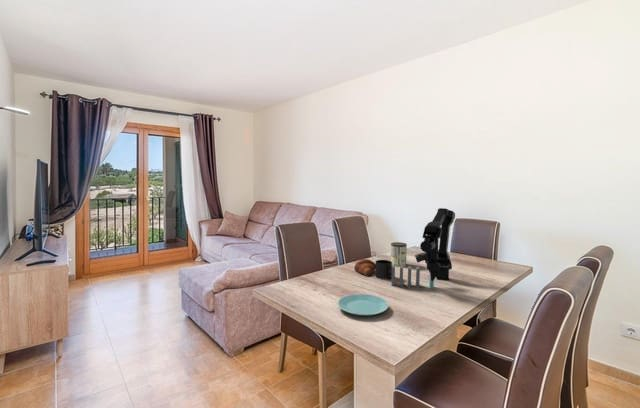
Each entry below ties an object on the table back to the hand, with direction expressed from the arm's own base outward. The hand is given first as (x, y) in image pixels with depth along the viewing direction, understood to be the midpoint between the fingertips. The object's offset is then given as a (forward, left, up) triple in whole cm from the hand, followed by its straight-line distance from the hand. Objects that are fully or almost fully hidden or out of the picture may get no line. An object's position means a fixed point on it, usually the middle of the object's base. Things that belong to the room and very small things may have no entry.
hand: (431, 278), depth 161 cm
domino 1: (+20, 0, -5) cm, 20 cm away
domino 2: (+15, 0, -5) cm, 16 cm away
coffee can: (+17, -42, -5) cm, 46 cm away
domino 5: (0, 0, -5) cm, 5 cm away
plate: (+31, +36, -6) cm, 48 cm away
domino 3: (+11, 0, -5) cm, 12 cm away
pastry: (+37, -21, -6) cm, 43 cm away
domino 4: (+7, 0, -5) cm, 9 cm away
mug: (+24, -11, -5) cm, 27 cm away
